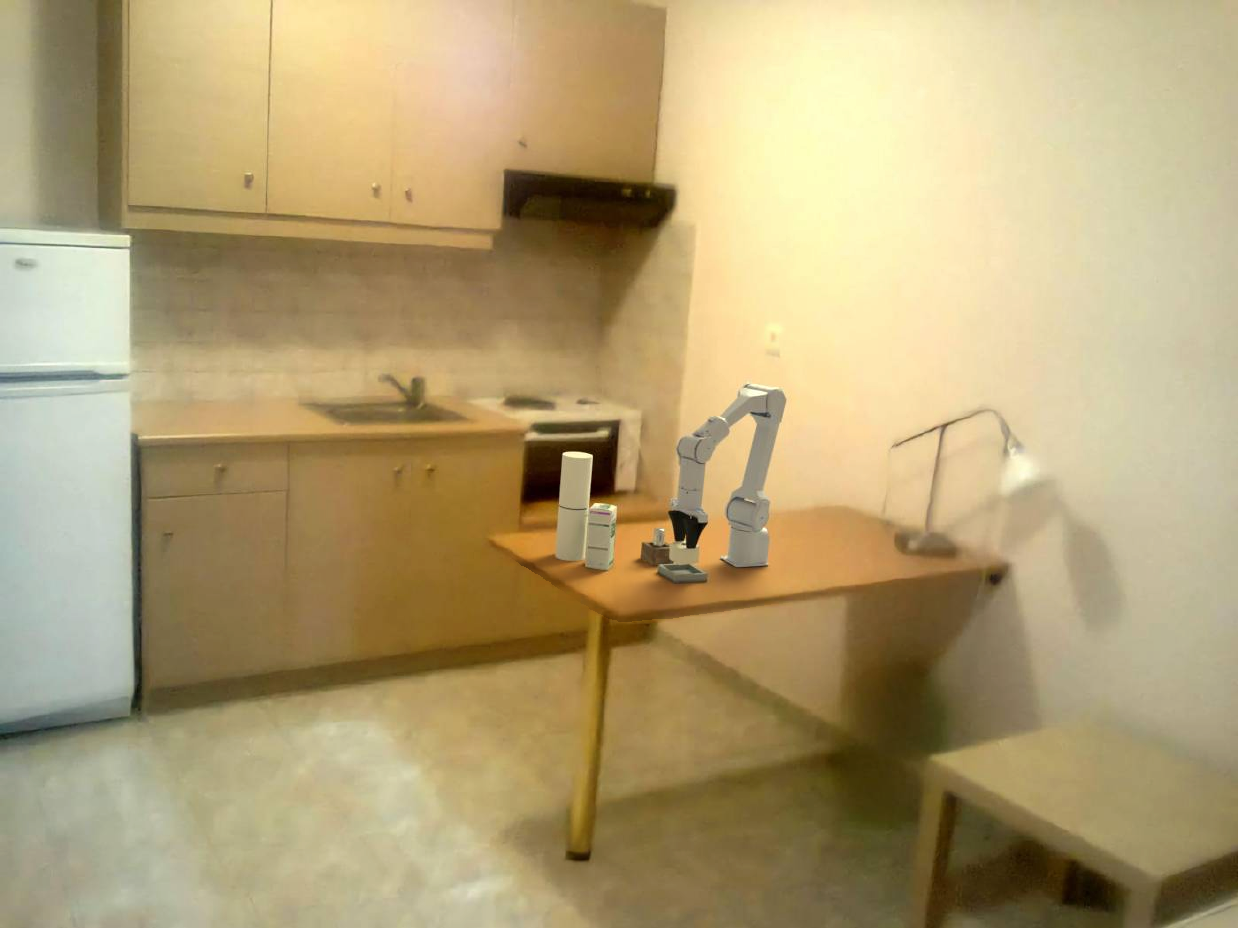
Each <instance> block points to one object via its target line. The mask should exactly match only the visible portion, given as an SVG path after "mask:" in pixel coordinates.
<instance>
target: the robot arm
mask: <svg viewBox="0 0 1238 928" xmlns="http://www.w3.org/2000/svg"><path fill="white" fill-rule="evenodd" d="M787 401H788V400H787V398H786V395H785V393H784V391H783V389H781V388H780V387H772V386H766V385H761V384H755V383H753V382H747V383H746V382H745V384H743V385H742V386H741V388H739V389H738V392H737V397H736V399H734V401H733V402H732V403H731V404H730V405H729V406H728V407H727V408H726V409H725V410H724V411H723V412H722V413H721V414H720V415H719V416H717V415H713V416H710V417H708V418H707V421H705V422H704V423H703V424H702V425H700V427H699V428H697V429H696V430H695V431H694V432H692V434H686V435H683V436H682V437H681V438H680V439H679V440H678V443H677V446H676V447H675V450H676V455H677V457H678V465H679V474H678V475H679V477H678V486H677V496H676V497H677V498H676V497H675V498H670V500H669V507H670V508H671V509H672V510H668V511H667V514H668V516H669V519H670V521H671V525H672V530H673V538H674V542H678V541H686V548H687V549H694V548H696V545H698V542H699V540H700V537H701V535H702V533H703V531H704V529H705V528H706V527H707V525H708V524H709V520H708V519H709V513H707V512H706V511H705V510H704V508H703V506H702V503H703V493H704V484H705V474H706V464H707V462H709V461H710V460H711V459H712V456H713V453H714V451H715V450H716V447H717V446H719V444H721V443H722V442H723V441H724V440H725V439H726V438H727V437H728V436H729V434H730V428H731V427H732V426H734V425H735V424H736V423H737V422H739V421H740V420H742V419H743V418H744V417H745V416H747V415H749V416H751V417H752V418H753V420H754V422H755V423H756V426H755V430H754V434H753V439H752V443H751V446H750V451H749V455H748V459H747V463H746V467H745V471H744V475H743V477H742V478H743V480H742V483H741V486H740V487H738V488H736V489H735V490H733V491H732V492H731V494H730V498H729V500H728V501H727V503H726V505H725V509H724V515H725V520H727V521H728V526H730V529H729V531H730V532H729V537H728V538H729V540H728V548H727V555H721V556H720V559H721V560H724V561H725V562H727V563H728V564H730V565H731V566H733V567H735V568H745V567H760V566H762V567H763V566H769V564H770V563H769V562H768V556H769V548H770V535H769V532H768V531H769V530H767V528H766V526H767V524H768V522H769V520H770V505H771V501H770V499H769V497H767V495H766V493H765V492H764V488H765V484H766V481H767V476H768V473H769V468H770V464H771V459H772V457H773V452H774V449H775V443H776V439H777V436H778V432H779V428H780V424H781V423H782V419H783V416H784V411H785V408H786V404H787Z"/></svg>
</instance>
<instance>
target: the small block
mask: <svg viewBox="0 0 1238 928" xmlns="http://www.w3.org/2000/svg"><path fill="white" fill-rule="evenodd" d="M669 544H670V553H669V559H670V560H672V561H674V564H676V563H677V564H678V565H686V564H693V565H694V564H699V561H700V557H699V556H700V545H698V544H697V545H696V548H694V549H687V548H686V540H684V541H678V542H676V541H671V542H669Z"/></svg>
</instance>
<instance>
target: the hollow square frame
mask: <svg viewBox="0 0 1238 928" xmlns="http://www.w3.org/2000/svg"><path fill="white" fill-rule="evenodd" d="M669 553H670V543H668V542H666V541H665V540H664V547H661V548H654V547H653V541H641V550H640V559H641V558H642V559H641V560H642V561H644V560H645V561H644V562H646V563H647V564H649V565H651V566H658V565H660V564H675V562H674V561H672V560H670V559H669Z"/></svg>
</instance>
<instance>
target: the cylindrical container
mask: <svg viewBox="0 0 1238 928" xmlns="http://www.w3.org/2000/svg"><path fill="white" fill-rule="evenodd" d="M593 458H594V457H593V454H590V453H587V452H582V451H565V452H563V453H562V457H561V470H560V471H561V472H560V484H559V498H558V510H557V512H558V513H557V522H556V523H557V525H556V536H555V537H556V540H555V542H556V543H555V549H554V550H555V553H554V557H555V558H556V559H559V560H561V561H567V562H579V561H583V560H585V558H586V542H587V526H588V511H589V508H590V497H591V494H590V493H591V484H592V471H593V460H594V459H593Z"/></svg>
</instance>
